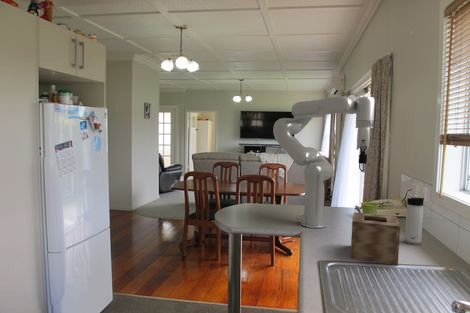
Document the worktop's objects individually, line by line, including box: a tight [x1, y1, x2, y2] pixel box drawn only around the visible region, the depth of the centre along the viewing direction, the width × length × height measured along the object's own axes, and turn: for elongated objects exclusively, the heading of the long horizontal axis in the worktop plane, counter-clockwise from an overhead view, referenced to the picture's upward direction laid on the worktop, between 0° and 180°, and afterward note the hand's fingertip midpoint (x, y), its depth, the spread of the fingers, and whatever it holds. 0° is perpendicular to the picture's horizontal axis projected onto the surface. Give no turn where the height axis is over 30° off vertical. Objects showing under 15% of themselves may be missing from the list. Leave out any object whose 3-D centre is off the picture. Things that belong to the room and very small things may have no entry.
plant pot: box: [360, 201, 380, 215], centre depth 190 cm, size 9×9×9 cm
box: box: [350, 212, 401, 266], centre depth 134 cm, size 16×16×14 cm
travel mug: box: [404, 197, 425, 246], centre depth 149 cm, size 6×7×20 cm
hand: (362, 162), depth 158 cm, fingers open, 9 cm apart
